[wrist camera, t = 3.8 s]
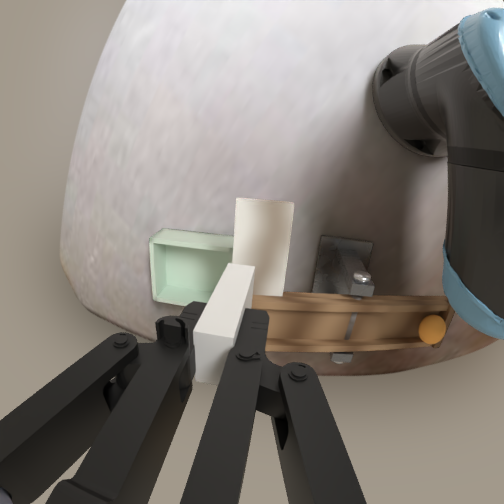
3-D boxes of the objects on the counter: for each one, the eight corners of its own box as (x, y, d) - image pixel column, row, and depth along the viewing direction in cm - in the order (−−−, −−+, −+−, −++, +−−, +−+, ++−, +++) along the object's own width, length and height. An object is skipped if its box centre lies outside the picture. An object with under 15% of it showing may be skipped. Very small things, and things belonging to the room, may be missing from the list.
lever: (228, 338, 31) (227, 354, 29) (236, 197, 26) (235, 203, 23) (428, 337, 32) (437, 350, 30) (465, 226, 27) (480, 233, 24)
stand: (306, 315, 42) (309, 367, 31) (321, 235, 37) (332, 270, 27) (352, 320, 41) (365, 370, 31) (371, 241, 37) (398, 277, 26)
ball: (412, 317, 30) (425, 335, 26) (435, 304, 29) (450, 319, 26) (415, 337, 31) (427, 354, 27) (438, 324, 30) (451, 340, 27)
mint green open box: (165, 286, 43) (153, 300, 39) (163, 228, 40) (149, 238, 36) (236, 297, 42) (230, 313, 38) (240, 236, 39) (234, 248, 35)
